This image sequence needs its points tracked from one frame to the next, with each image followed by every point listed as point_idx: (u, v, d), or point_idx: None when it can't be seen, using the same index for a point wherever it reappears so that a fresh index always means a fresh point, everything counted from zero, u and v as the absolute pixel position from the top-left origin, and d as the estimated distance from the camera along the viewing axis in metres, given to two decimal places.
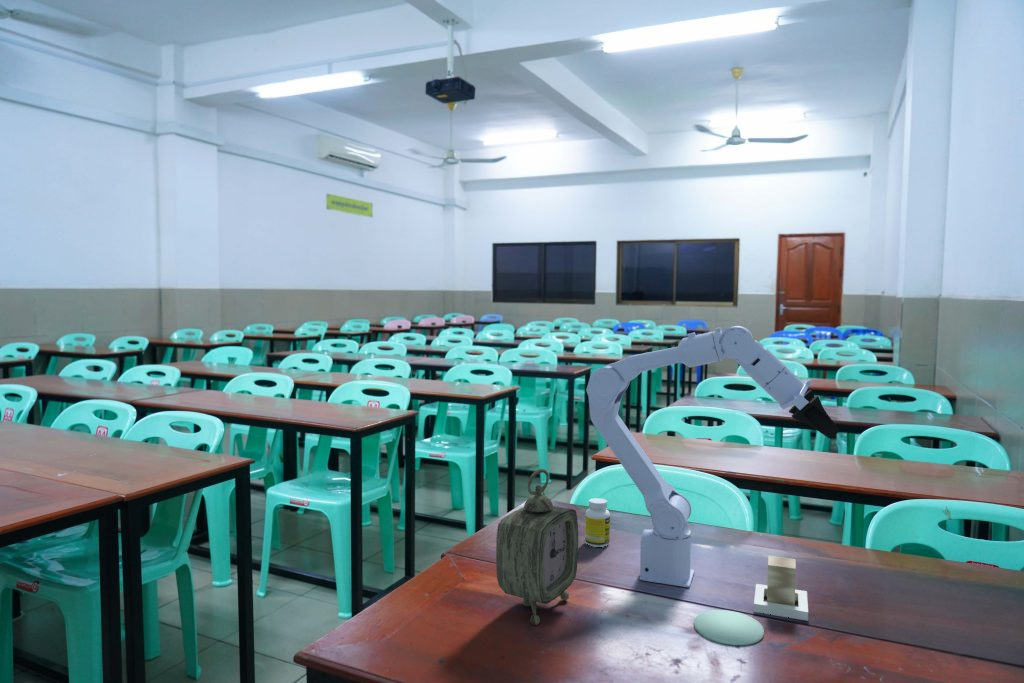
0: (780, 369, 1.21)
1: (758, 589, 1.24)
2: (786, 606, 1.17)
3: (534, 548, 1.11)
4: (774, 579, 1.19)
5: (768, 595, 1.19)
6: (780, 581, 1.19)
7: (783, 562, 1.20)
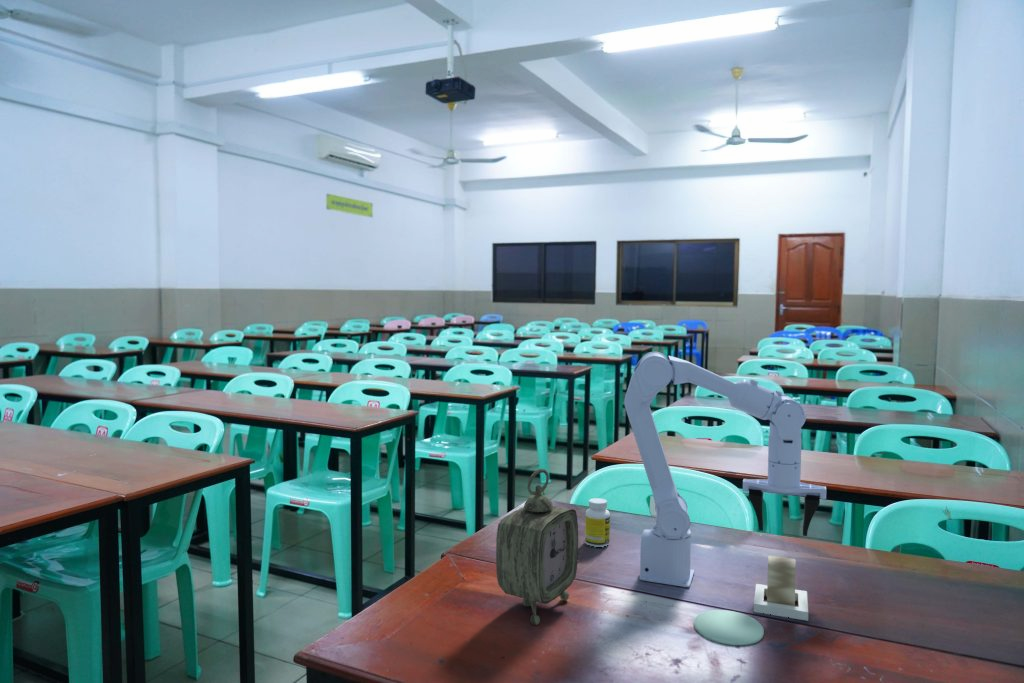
0: (797, 461, 1.25)
1: (758, 589, 1.24)
2: (786, 606, 1.17)
3: (534, 548, 1.11)
4: (774, 579, 1.19)
5: (768, 595, 1.19)
6: (780, 581, 1.19)
7: (783, 562, 1.20)
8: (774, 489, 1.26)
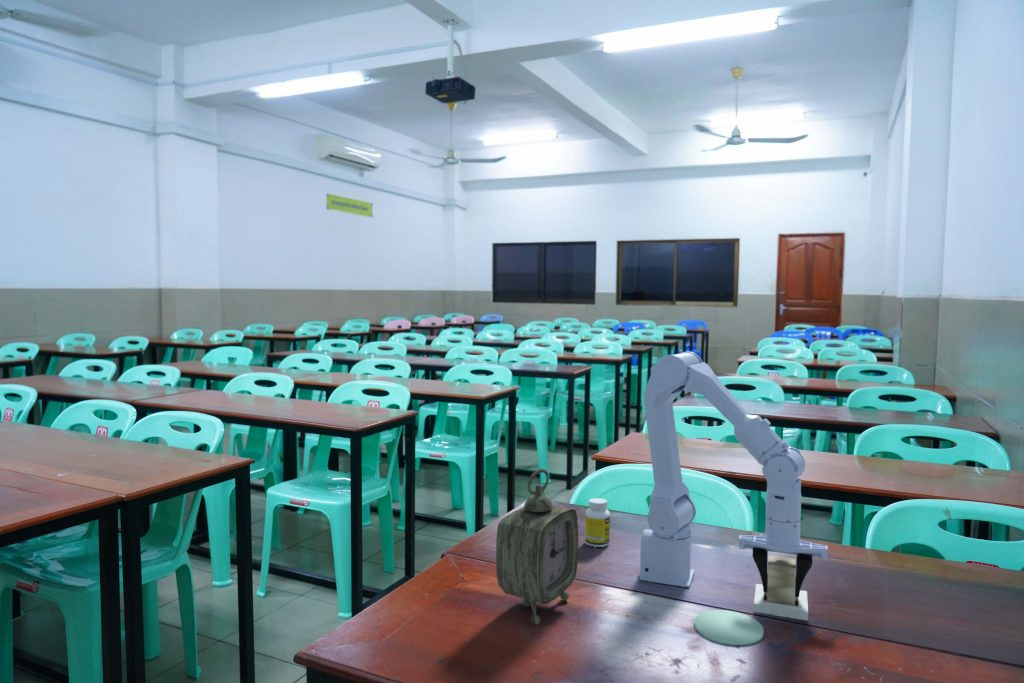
0: (791, 520, 1.17)
1: (758, 589, 1.24)
2: (786, 606, 1.17)
3: (534, 548, 1.11)
4: (774, 579, 1.19)
5: (768, 595, 1.19)
6: (780, 581, 1.19)
7: (783, 562, 1.20)
8: (772, 548, 1.18)
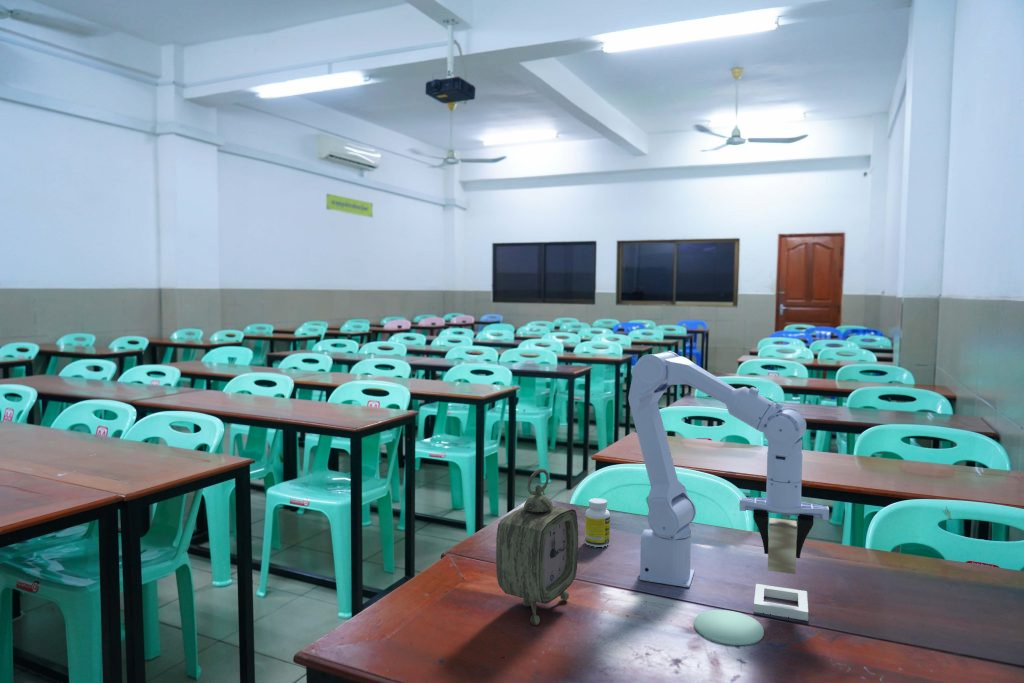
0: (792, 480, 1.16)
1: (758, 589, 1.24)
2: (786, 606, 1.17)
3: (534, 548, 1.11)
4: (775, 540, 1.18)
5: (769, 556, 1.19)
6: (780, 542, 1.18)
7: (784, 524, 1.19)
8: (773, 509, 1.18)
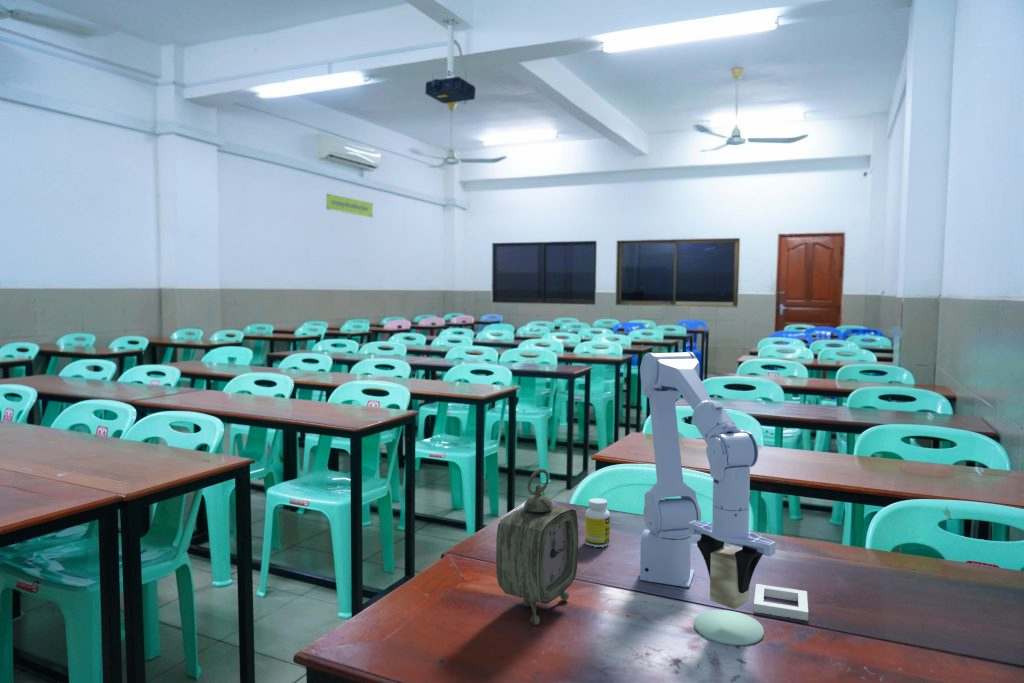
0: (725, 507, 1.09)
1: (758, 589, 1.24)
2: (786, 606, 1.17)
3: (534, 548, 1.11)
4: (716, 569, 1.11)
5: (711, 586, 1.12)
6: (721, 572, 1.11)
7: (730, 554, 1.12)
8: (713, 536, 1.11)
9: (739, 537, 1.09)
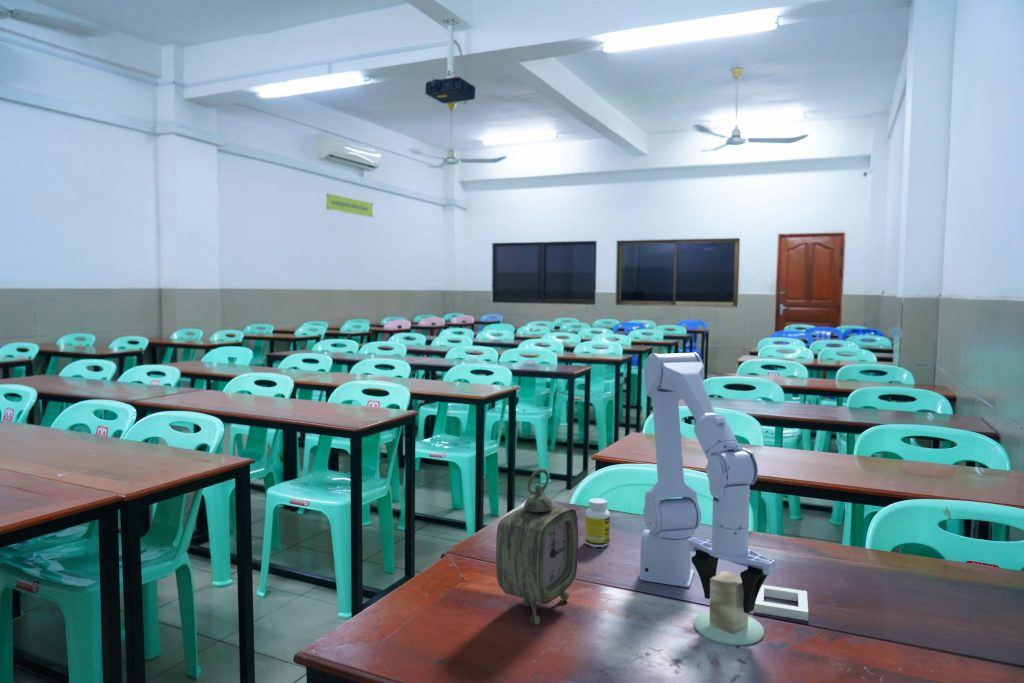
0: (725, 526, 1.09)
1: None
2: (786, 606, 1.17)
3: (534, 548, 1.11)
4: (716, 594, 1.12)
5: (710, 610, 1.13)
6: (721, 597, 1.11)
7: (729, 579, 1.12)
8: (712, 554, 1.11)
9: (739, 555, 1.09)
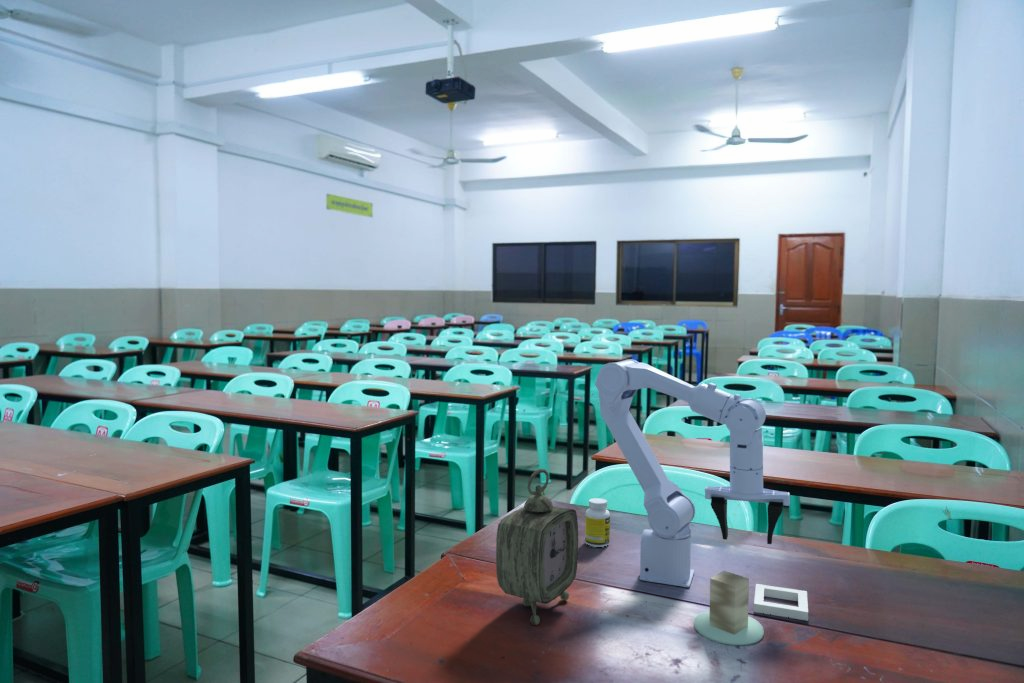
0: (754, 468, 1.21)
1: (758, 589, 1.24)
2: (786, 606, 1.17)
3: (534, 548, 1.11)
4: (716, 594, 1.12)
5: (710, 610, 1.13)
6: (721, 597, 1.11)
7: (729, 579, 1.12)
8: (736, 496, 1.22)
9: (760, 493, 1.21)
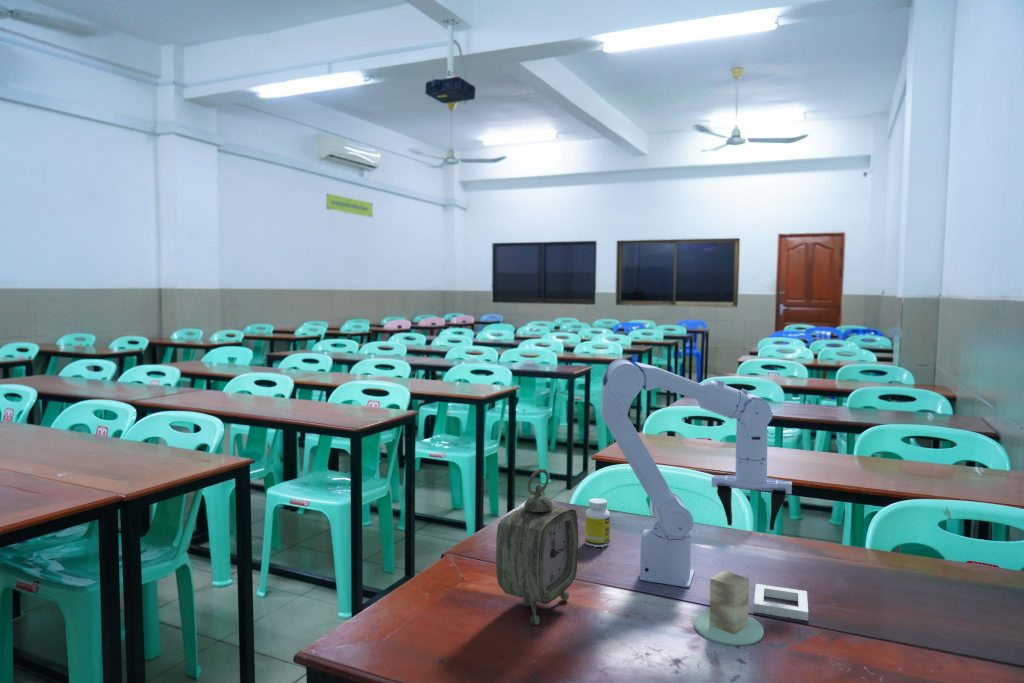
0: (765, 457, 1.28)
1: (758, 589, 1.24)
2: (786, 606, 1.17)
3: (534, 548, 1.11)
4: (716, 594, 1.12)
5: (710, 610, 1.13)
6: (721, 597, 1.11)
7: (729, 579, 1.12)
8: (741, 485, 1.29)
9: (764, 482, 1.29)
